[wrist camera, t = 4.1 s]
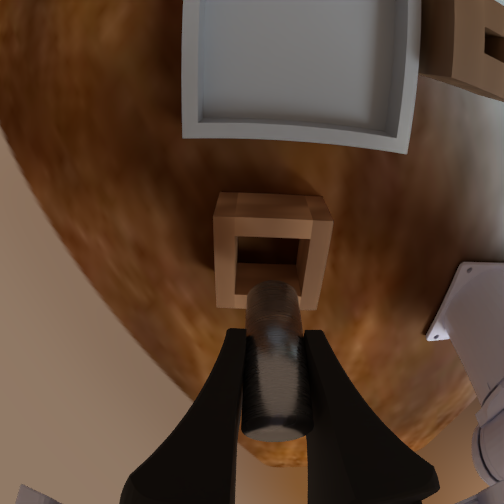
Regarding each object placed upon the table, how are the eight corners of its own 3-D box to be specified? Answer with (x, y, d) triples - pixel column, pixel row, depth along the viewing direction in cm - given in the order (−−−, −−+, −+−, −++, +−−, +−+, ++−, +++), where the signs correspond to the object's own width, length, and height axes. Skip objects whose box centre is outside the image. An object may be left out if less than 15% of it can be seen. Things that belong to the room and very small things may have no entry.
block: (483, 21, 10) (527, 21, 7) (479, 94, 13) (522, 108, 9) (414, -8, 10) (453, -22, 7) (411, 72, 13) (451, 77, 9)
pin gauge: (301, 281, 13) (320, 412, 8) (294, 318, 14) (307, 441, 9) (247, 279, 13) (241, 413, 8) (245, 317, 14) (241, 441, 9)
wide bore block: (322, 196, 17) (333, 221, 14) (309, 278, 20) (316, 310, 17) (219, 191, 17) (212, 216, 14) (221, 275, 20) (216, 307, 17)
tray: (400, -30, 9) (419, -40, 7) (389, 142, 15) (406, 154, 13) (197, -53, 9) (188, -69, 7) (192, 129, 15) (182, 138, 13)
